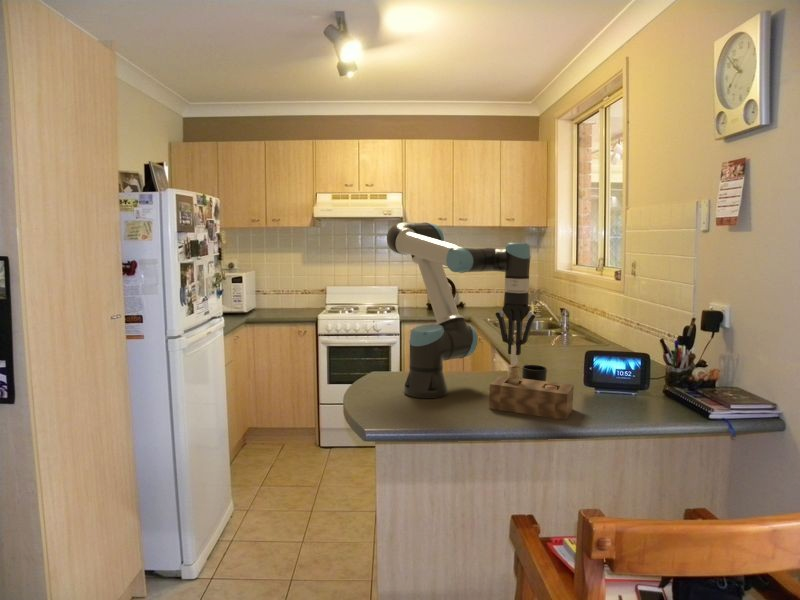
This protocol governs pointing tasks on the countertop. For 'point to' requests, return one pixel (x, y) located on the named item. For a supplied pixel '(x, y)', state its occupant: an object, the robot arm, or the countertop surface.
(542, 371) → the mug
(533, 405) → the socket block
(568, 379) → the countertop surface
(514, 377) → the peg
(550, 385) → the peg
